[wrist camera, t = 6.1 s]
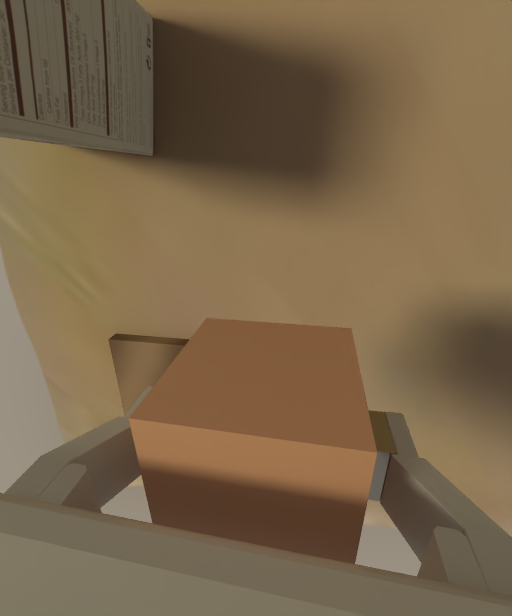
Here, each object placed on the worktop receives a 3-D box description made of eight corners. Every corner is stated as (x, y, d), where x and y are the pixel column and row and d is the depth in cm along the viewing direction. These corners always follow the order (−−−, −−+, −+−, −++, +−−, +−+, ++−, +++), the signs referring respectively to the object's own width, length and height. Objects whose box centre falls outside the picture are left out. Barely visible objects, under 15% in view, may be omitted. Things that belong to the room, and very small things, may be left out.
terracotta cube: (351, 328, 10) (376, 452, 6) (336, 441, 12) (347, 599, 8) (206, 318, 11) (128, 418, 6) (215, 424, 13) (160, 558, 8)
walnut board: (241, 343, 24) (238, 350, 23) (244, 447, 29) (242, 456, 28) (115, 333, 26) (108, 339, 25) (135, 432, 30) (130, 440, 29)
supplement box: (55, 144, 21) (-259, 98, 9) (40, 3, 18) (-443, -313, 6) (157, 160, 20) (-50, 132, 9) (158, 16, 17) (-151, -317, 6)
